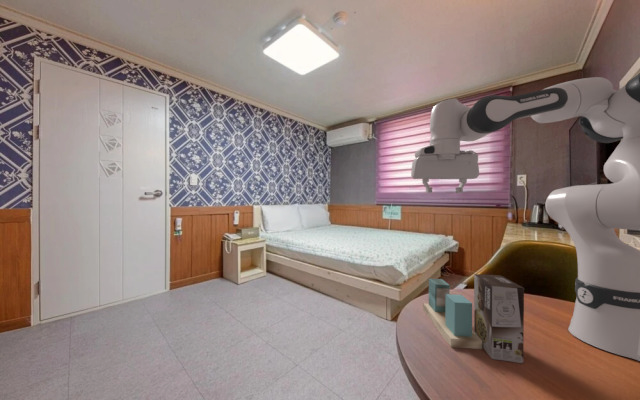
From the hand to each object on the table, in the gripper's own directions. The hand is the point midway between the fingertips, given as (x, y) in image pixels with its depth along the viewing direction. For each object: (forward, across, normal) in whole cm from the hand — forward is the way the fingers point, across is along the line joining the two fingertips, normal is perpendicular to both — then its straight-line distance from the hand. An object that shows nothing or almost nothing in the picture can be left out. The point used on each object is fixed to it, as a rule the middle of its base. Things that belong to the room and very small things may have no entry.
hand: (444, 192), depth 77 cm
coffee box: (+37, -3, +22) cm, 43 cm away
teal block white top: (+35, +4, +19) cm, 40 cm away
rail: (+37, +4, +13) cm, 39 cm away
